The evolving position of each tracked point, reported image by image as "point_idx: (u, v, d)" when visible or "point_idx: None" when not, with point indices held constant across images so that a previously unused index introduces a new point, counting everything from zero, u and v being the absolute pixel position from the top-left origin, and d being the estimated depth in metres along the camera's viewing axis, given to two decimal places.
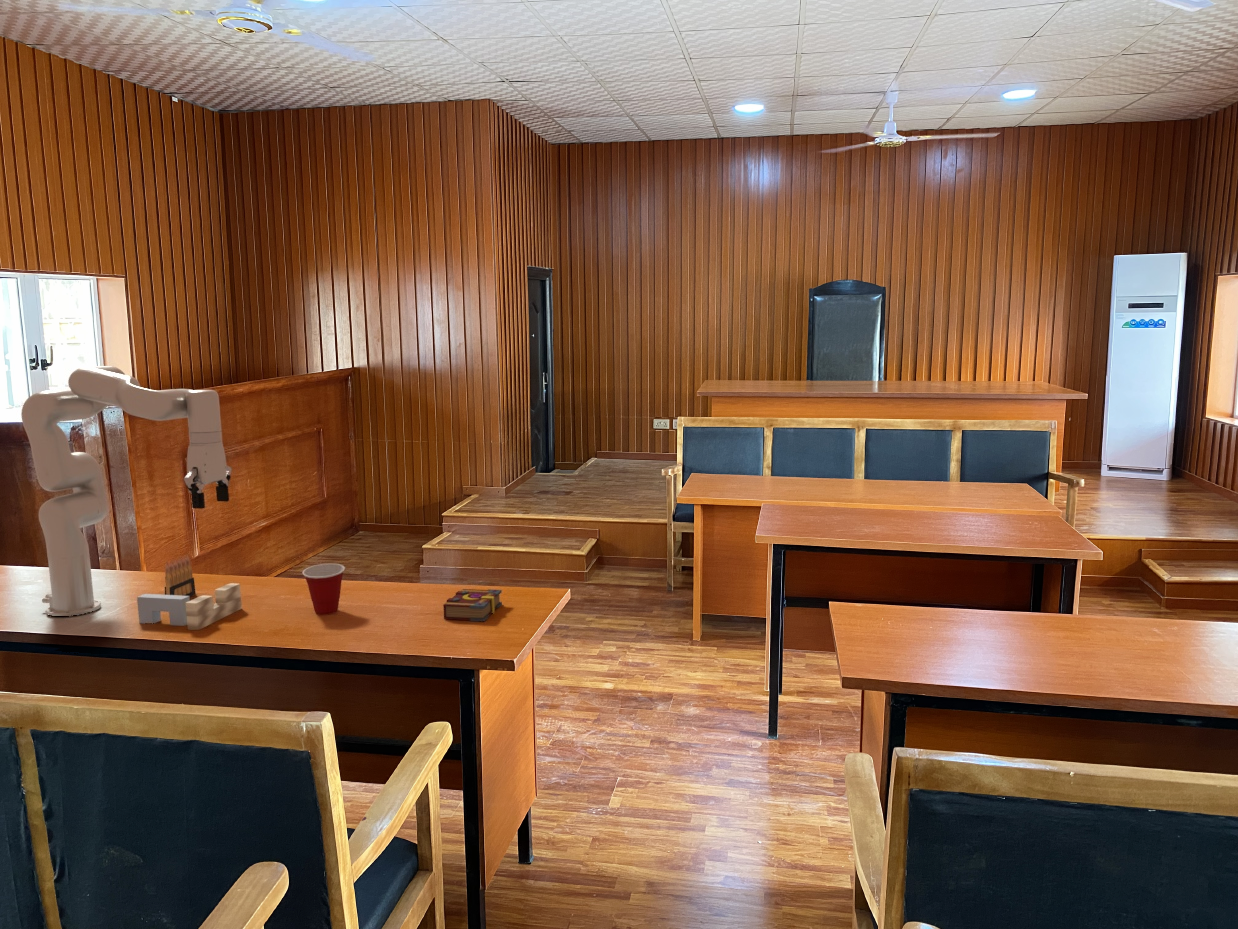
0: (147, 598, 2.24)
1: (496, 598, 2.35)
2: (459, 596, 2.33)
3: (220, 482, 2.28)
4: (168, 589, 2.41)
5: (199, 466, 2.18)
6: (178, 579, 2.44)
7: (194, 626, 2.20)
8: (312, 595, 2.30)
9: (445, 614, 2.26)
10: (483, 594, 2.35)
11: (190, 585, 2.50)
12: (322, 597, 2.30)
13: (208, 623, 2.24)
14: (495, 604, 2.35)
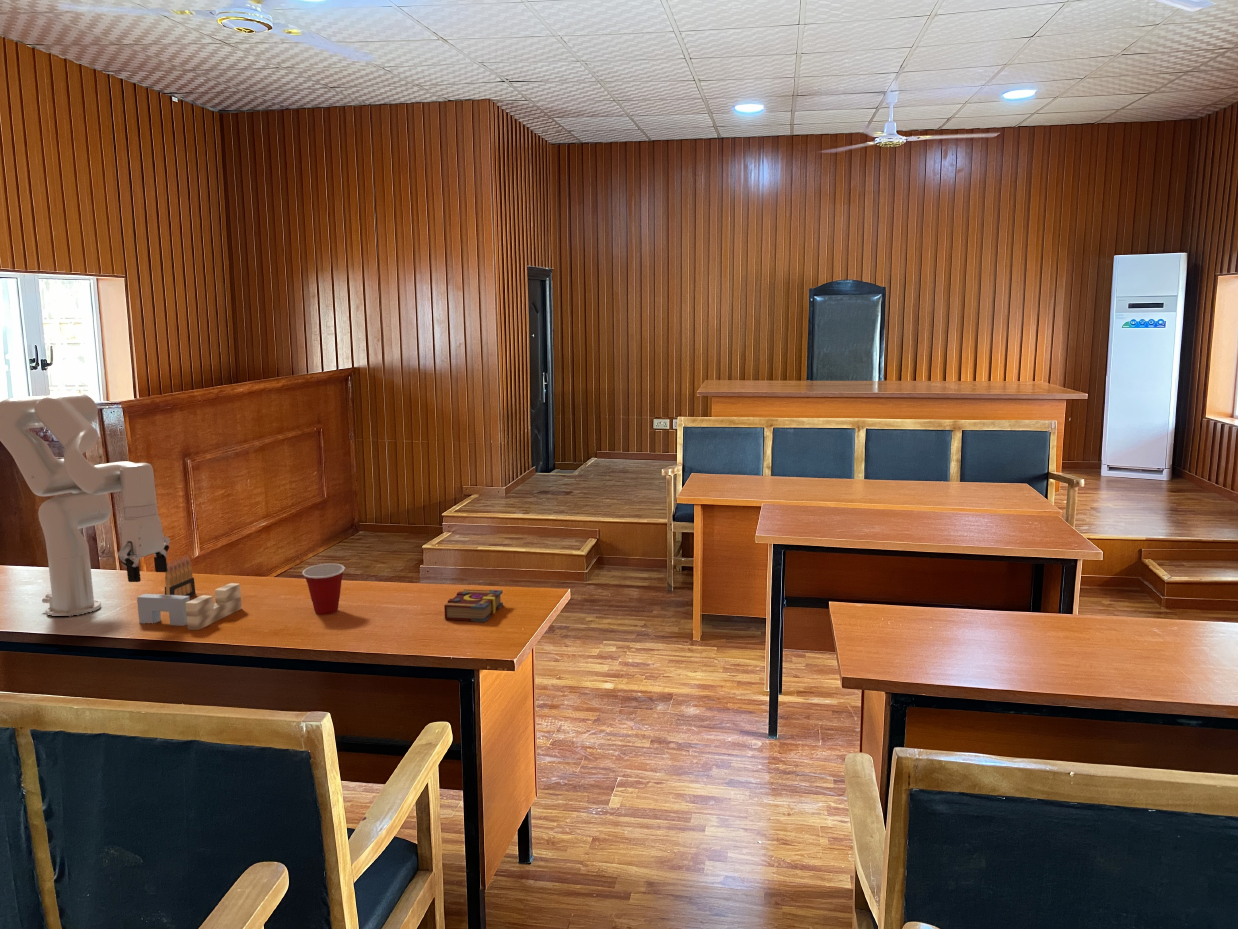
0: (147, 598, 2.24)
1: (497, 599, 2.35)
2: (460, 597, 2.32)
3: (158, 553, 2.29)
4: (168, 589, 2.41)
5: (134, 540, 2.19)
6: (178, 579, 2.44)
7: (194, 626, 2.20)
8: (312, 595, 2.30)
9: (446, 615, 2.26)
10: (484, 595, 2.34)
11: (190, 585, 2.50)
12: (322, 597, 2.30)
13: (208, 623, 2.24)
14: (496, 605, 2.34)
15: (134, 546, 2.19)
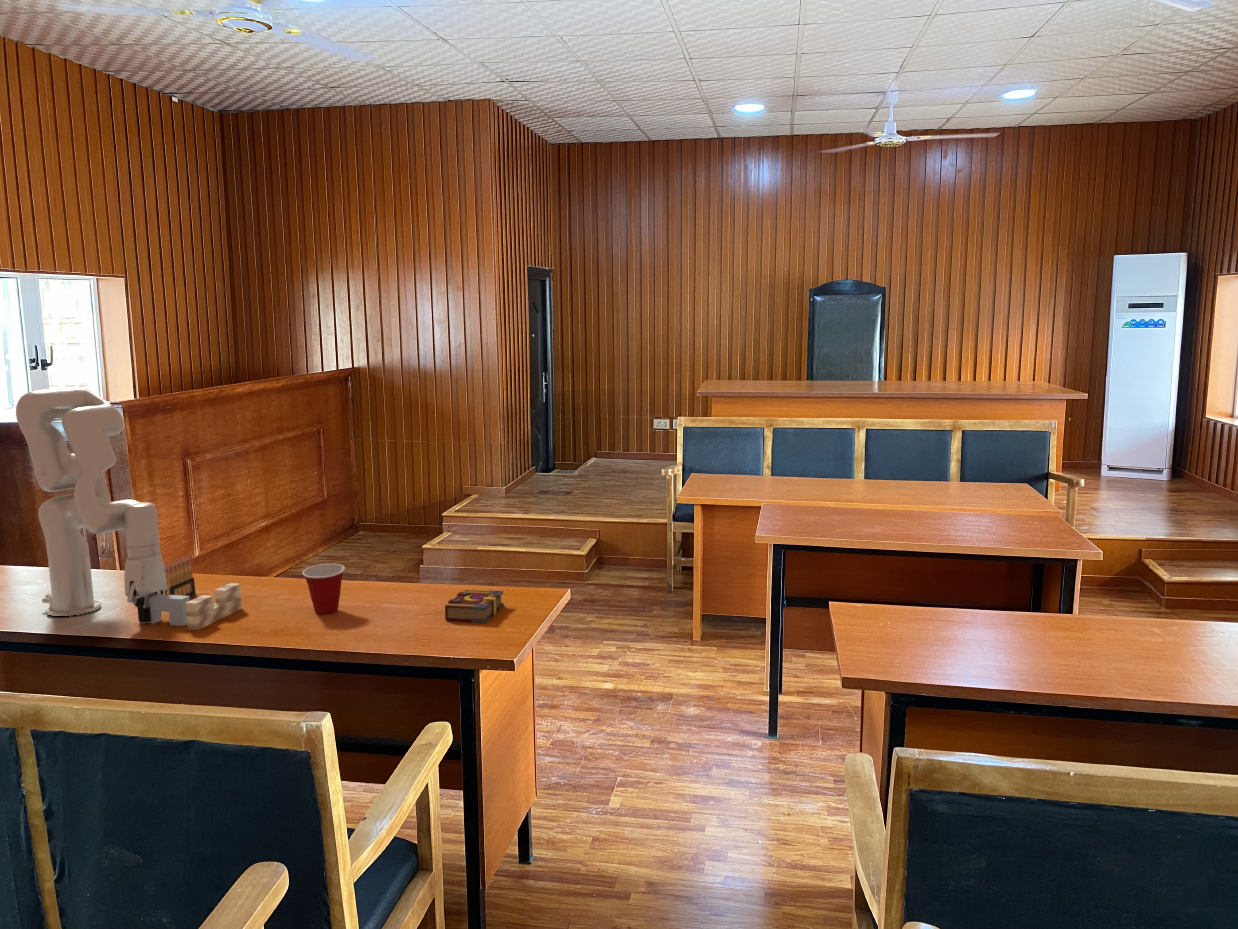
0: None
1: (498, 599, 2.34)
2: (461, 597, 2.32)
3: None
4: (168, 589, 2.41)
5: (136, 580, 2.20)
6: (178, 579, 2.44)
7: (194, 626, 2.20)
8: (312, 595, 2.30)
9: (447, 615, 2.25)
10: (485, 595, 2.34)
11: (190, 585, 2.50)
12: (322, 597, 2.30)
13: (208, 623, 2.24)
14: (497, 605, 2.34)
15: (136, 586, 2.20)
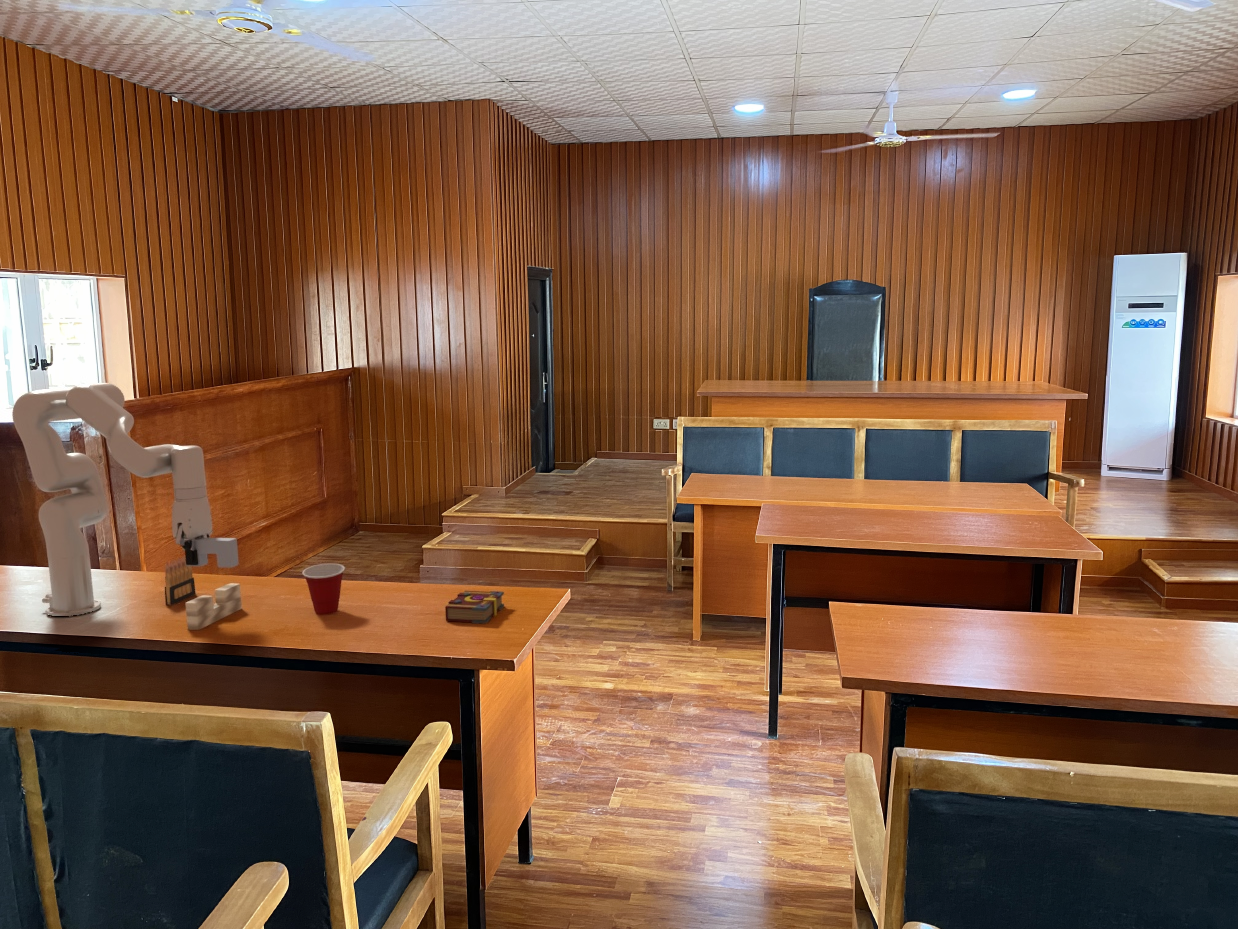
0: None
1: (498, 600, 2.34)
2: (461, 598, 2.31)
3: None
4: (168, 589, 2.41)
5: (184, 522, 2.21)
6: (178, 579, 2.44)
7: (194, 626, 2.20)
8: (312, 595, 2.30)
9: (447, 616, 2.25)
10: (485, 596, 2.33)
11: (190, 585, 2.50)
12: (322, 597, 2.30)
13: (208, 623, 2.24)
14: (497, 606, 2.33)
15: (184, 528, 2.21)
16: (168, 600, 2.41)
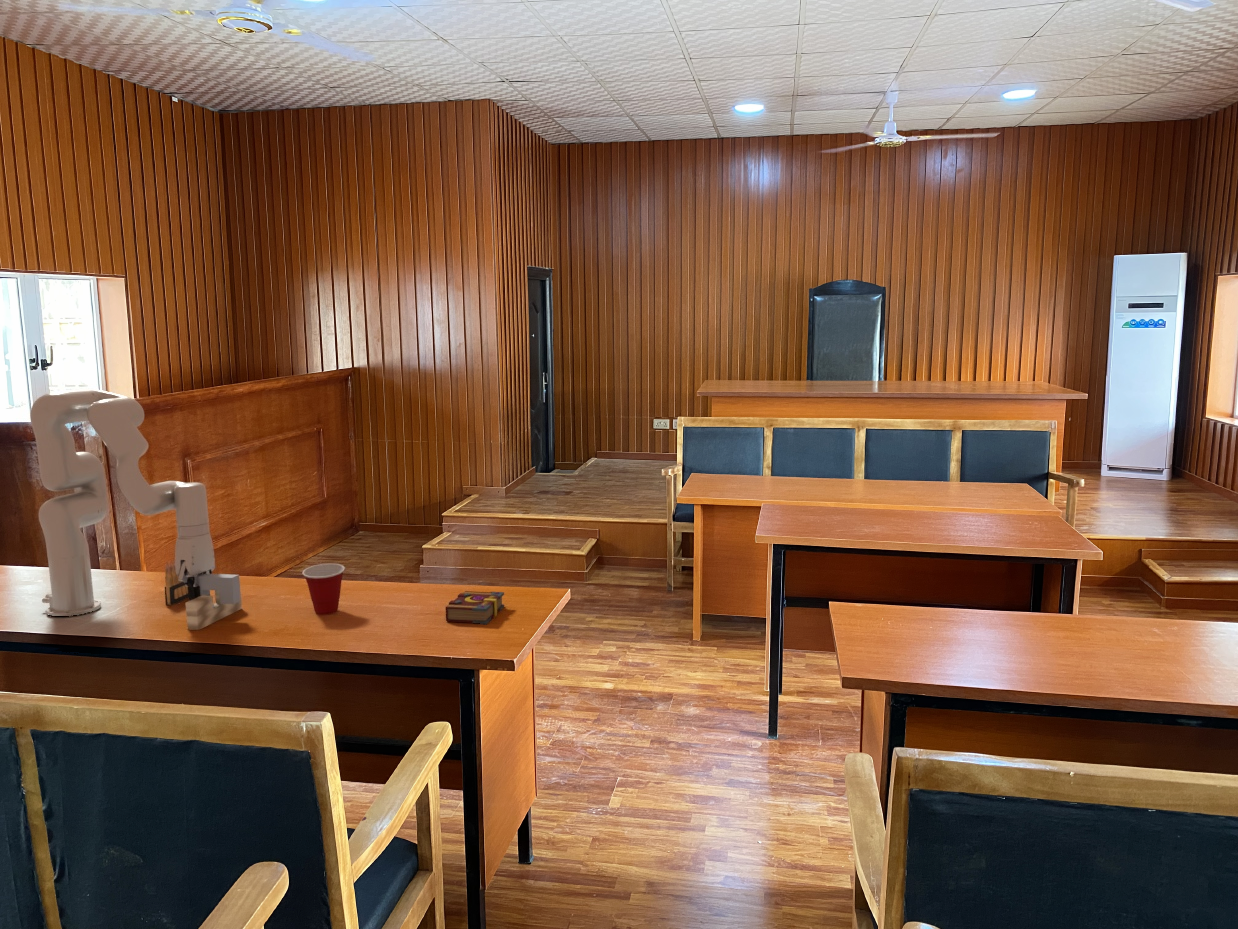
0: None
1: (498, 600, 2.33)
2: (461, 598, 2.31)
3: None
4: (168, 589, 2.41)
5: (187, 559, 2.22)
6: None
7: (194, 626, 2.20)
8: (312, 595, 2.30)
9: (447, 617, 2.24)
10: (485, 596, 2.32)
11: None
12: (322, 597, 2.30)
13: (208, 623, 2.24)
14: (497, 606, 2.33)
15: (187, 565, 2.22)
16: (168, 600, 2.41)
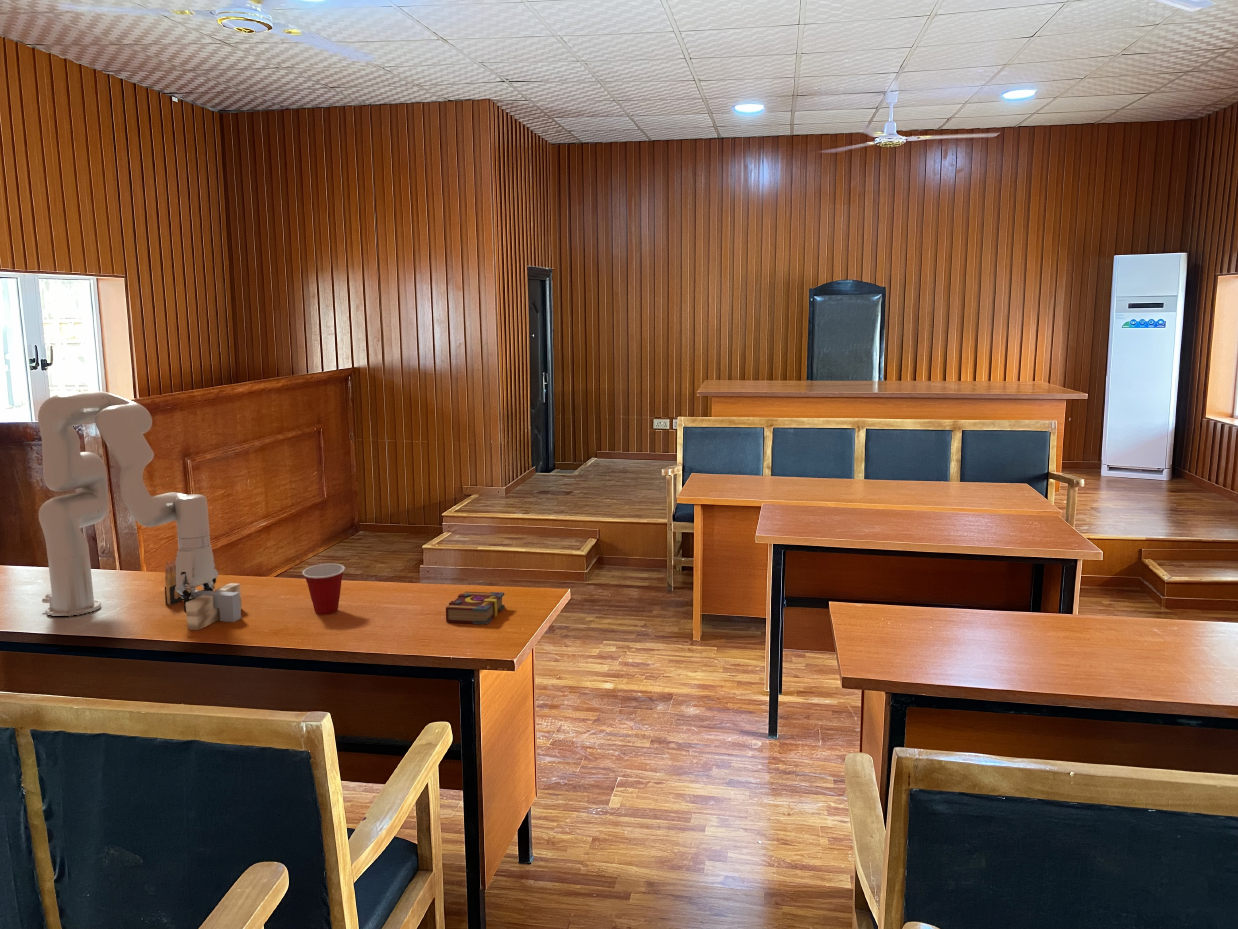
0: (198, 594, 2.27)
1: (499, 601, 2.33)
2: (461, 599, 2.30)
3: (206, 585, 2.33)
4: (168, 589, 2.41)
5: (187, 571, 2.23)
6: None
7: (194, 626, 2.20)
8: (312, 595, 2.30)
9: (447, 617, 2.24)
10: (486, 597, 2.32)
11: None
12: (322, 597, 2.30)
13: (208, 623, 2.24)
14: (498, 607, 2.32)
15: (188, 577, 2.23)
16: (168, 600, 2.41)
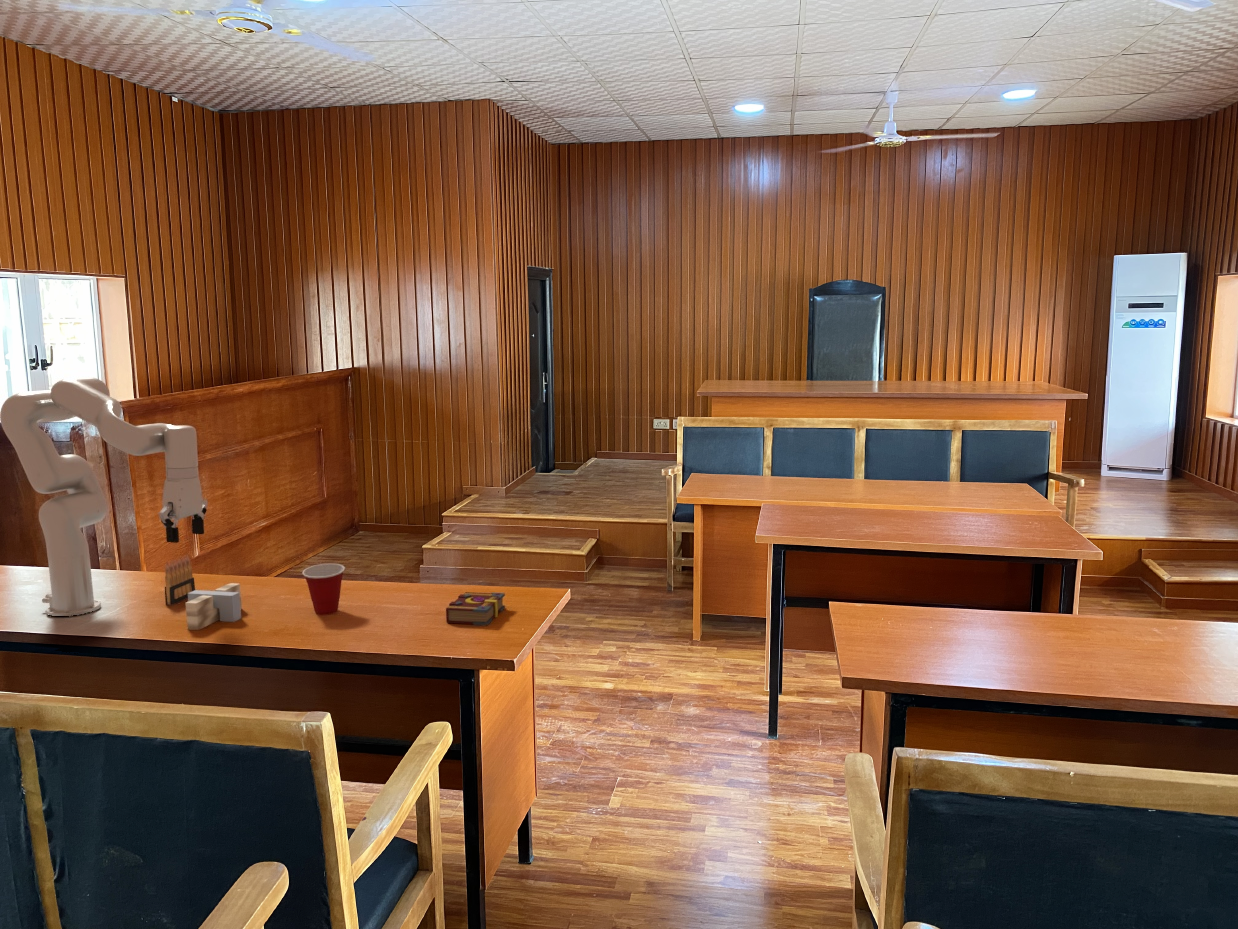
0: (198, 594, 2.27)
1: (499, 601, 2.32)
2: (462, 599, 2.30)
3: (196, 515, 2.32)
4: (168, 589, 2.41)
5: (174, 501, 2.21)
6: (178, 579, 2.44)
7: (194, 626, 2.20)
8: (312, 595, 2.30)
9: (448, 618, 2.23)
10: (486, 597, 2.31)
11: (190, 585, 2.50)
12: (322, 597, 2.30)
13: (208, 623, 2.24)
14: (498, 608, 2.32)
15: (174, 507, 2.22)
16: (168, 600, 2.41)
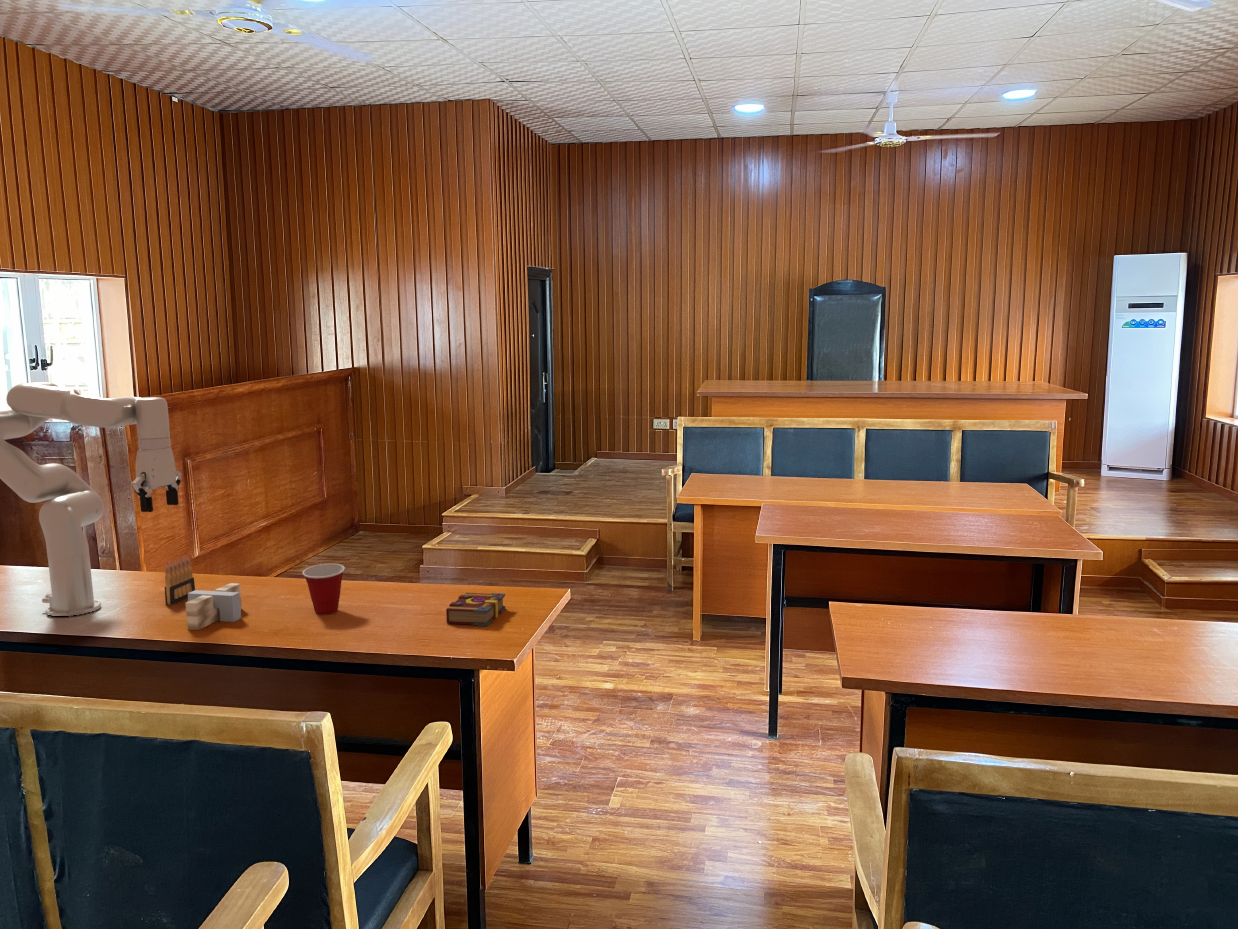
0: (198, 594, 2.27)
1: (499, 602, 2.32)
2: (462, 600, 2.29)
3: (170, 486, 2.36)
4: (168, 589, 2.41)
5: (147, 471, 2.25)
6: (178, 579, 2.44)
7: (194, 626, 2.20)
8: (312, 595, 2.30)
9: (448, 618, 2.23)
10: (486, 598, 2.31)
11: (190, 585, 2.50)
12: (322, 597, 2.30)
13: (208, 623, 2.24)
14: (498, 608, 2.31)
15: (147, 477, 2.26)
16: (168, 600, 2.41)
